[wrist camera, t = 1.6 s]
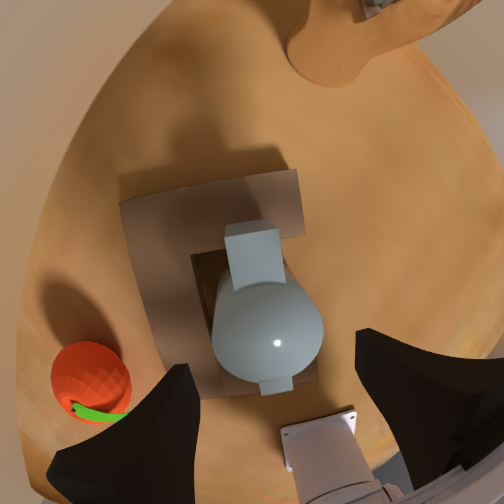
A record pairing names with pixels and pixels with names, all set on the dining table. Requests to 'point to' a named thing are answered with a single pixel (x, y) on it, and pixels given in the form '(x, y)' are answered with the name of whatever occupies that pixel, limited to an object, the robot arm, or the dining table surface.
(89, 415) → the clementine
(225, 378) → the dock
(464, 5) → the beer glass
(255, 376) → the grey tabbed rounded part
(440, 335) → the dining table surface
